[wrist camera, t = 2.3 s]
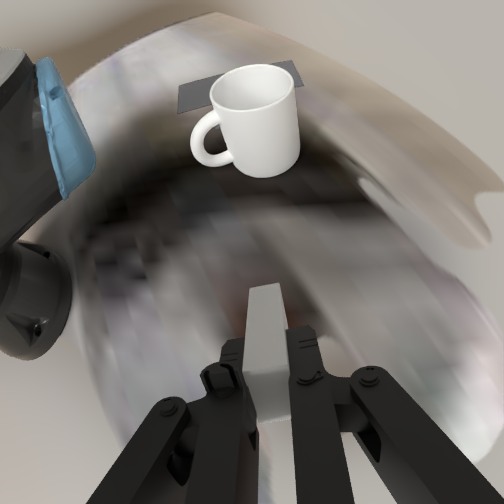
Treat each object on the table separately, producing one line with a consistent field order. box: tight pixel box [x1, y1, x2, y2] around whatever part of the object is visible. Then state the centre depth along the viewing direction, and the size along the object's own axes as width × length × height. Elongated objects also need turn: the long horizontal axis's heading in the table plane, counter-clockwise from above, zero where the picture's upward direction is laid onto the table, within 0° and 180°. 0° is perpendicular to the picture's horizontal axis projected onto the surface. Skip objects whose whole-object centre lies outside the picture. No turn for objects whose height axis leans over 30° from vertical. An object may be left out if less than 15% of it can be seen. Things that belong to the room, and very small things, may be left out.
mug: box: [190, 64, 300, 178], centre depth 33 cm, size 12×8×10 cm
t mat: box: [178, 60, 304, 130], centre depth 44 cm, size 19×14×1 cm
